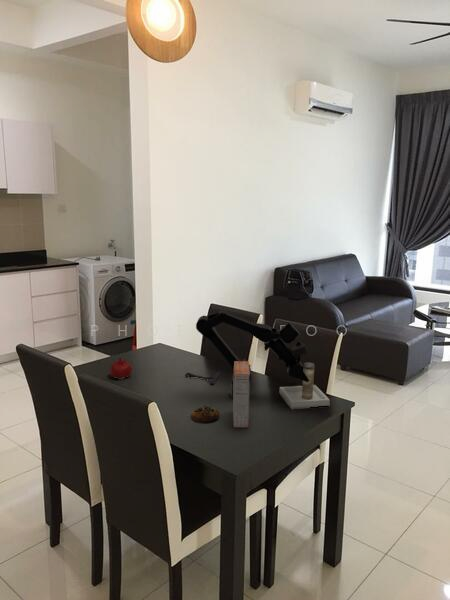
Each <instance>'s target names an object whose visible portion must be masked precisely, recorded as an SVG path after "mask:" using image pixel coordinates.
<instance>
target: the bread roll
mask: <svg viewBox="0 0 450 600" xmlns="http://www.w3.org/2000/svg"><path fill="white" fill-rule="evenodd" d="M190 418H191V419H192V420H193V421H194V422H198V423H202V424H211V423H215V422H217V421H218V420H219V418H220V412H219V410H218V409H217V408H215V407H212V406H209V405H206V406H205V405H203V406H200V407H198V408H195V409H194V410H193V411H192V412H191V414H190Z"/></svg>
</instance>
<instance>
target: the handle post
mask: <svg viewBox="0 0 450 600" xmlns="http://www.w3.org/2000/svg"><path fill="white" fill-rule="evenodd" d="M302 365H303V367H304V368H303V371H304V373H305V374H306V376H307V377H308V379H309V382H306V381H303V380H302V385H301V386H302V398H303V399H306V400H311V399H312V398H313V385H314V380H315V379H314V378H315V363H313V362H304V363H303V364H302Z"/></svg>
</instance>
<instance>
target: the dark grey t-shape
mask: <svg viewBox="0 0 450 600" xmlns="http://www.w3.org/2000/svg"><path fill="white" fill-rule="evenodd" d="M214 375H215V376H214ZM220 375H221V373H220V372H219V371H218V372H216V373H214V374H211V375H209V376H210V377H203V376H204V375H203V376H201V375H197V374H193V373H191V372H186V373H185V374H184V377H185V376H188V377H198V378H203V379H205V380H206V381H205V380H204V381H205V382H207V379H208V382H209V383H210V384H209V383H208V382H207V383H208V384H209V386H212V385H213V386H215V384H216V382H217V381H216V380H218V379H217V378H219V376H220ZM213 376H214V377H213ZM210 379H213V380H210ZM211 384H212V385H211Z"/></svg>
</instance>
